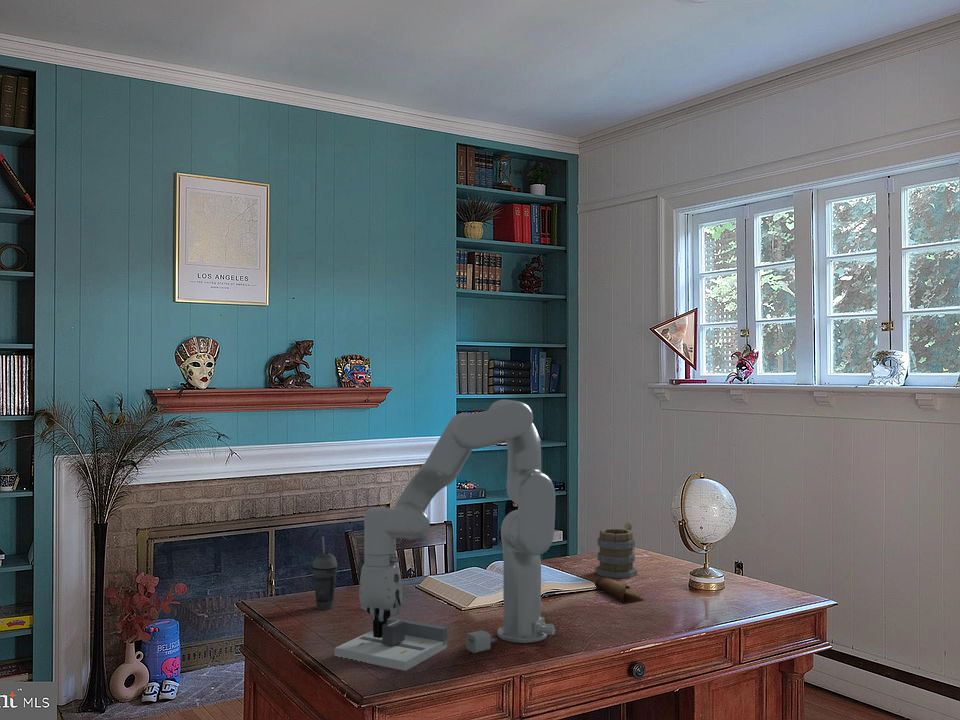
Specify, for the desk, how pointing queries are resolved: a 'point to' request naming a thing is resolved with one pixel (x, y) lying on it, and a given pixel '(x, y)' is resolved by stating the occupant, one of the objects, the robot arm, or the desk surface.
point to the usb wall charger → (478, 641)
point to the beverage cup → (324, 579)
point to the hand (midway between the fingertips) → (379, 636)
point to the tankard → (616, 553)
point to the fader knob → (393, 632)
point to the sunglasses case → (618, 590)
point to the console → (397, 646)
